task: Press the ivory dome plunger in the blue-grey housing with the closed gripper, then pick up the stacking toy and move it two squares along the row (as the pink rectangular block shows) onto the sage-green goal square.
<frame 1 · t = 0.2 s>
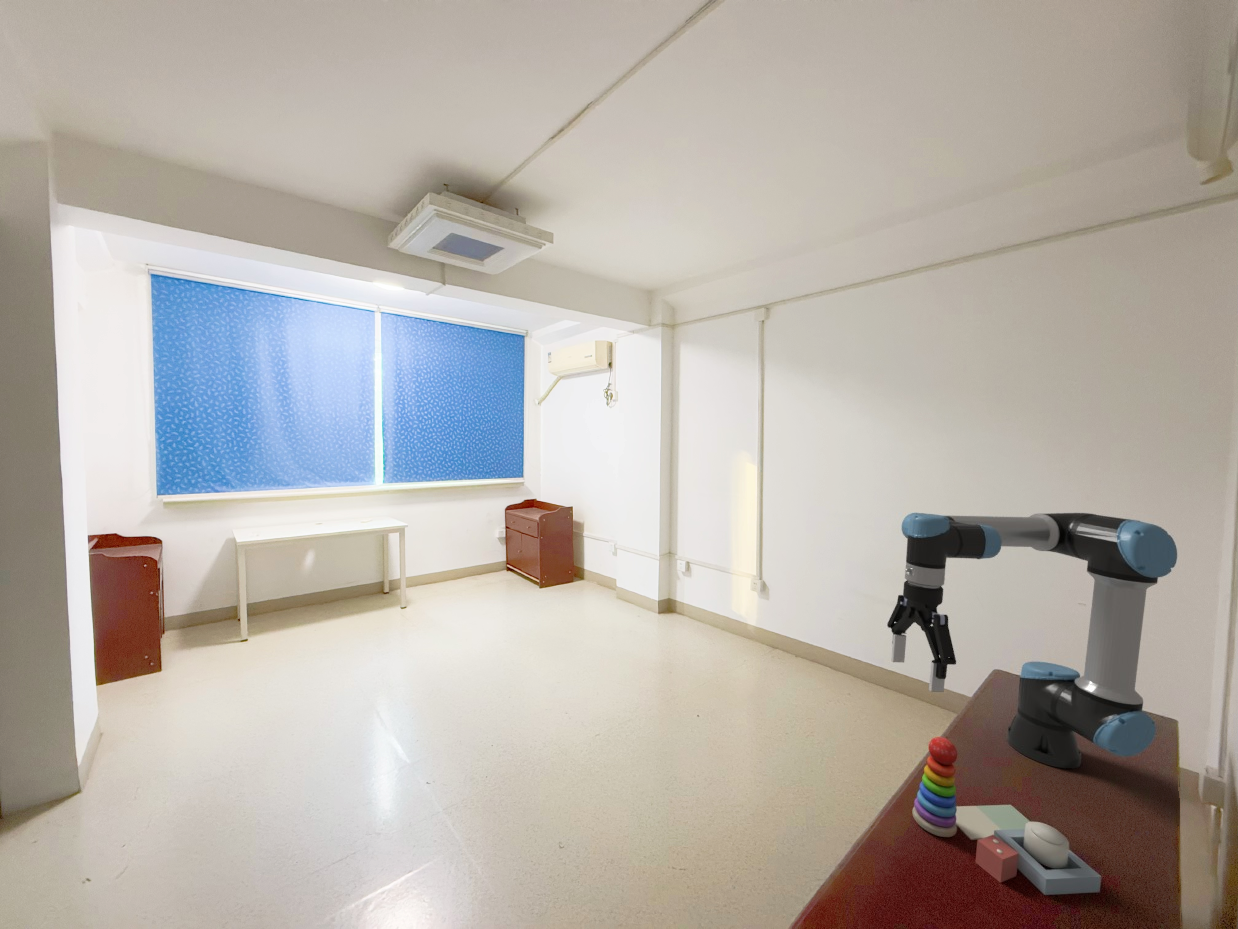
hand: (915, 675, 112), 28 cm above the table, fingers open, 13 cm apart
dome button: (1045, 843, 95), point 5 cm above the table, slide at 0.0 cm
square one: (973, 822, 105), on the table
dome base: (1043, 867, 95), on the table
pink rectangular block: (995, 869, 94), on the table
stacking toy: (933, 825, 105), on the table
goal square: (1009, 821, 106), on the table
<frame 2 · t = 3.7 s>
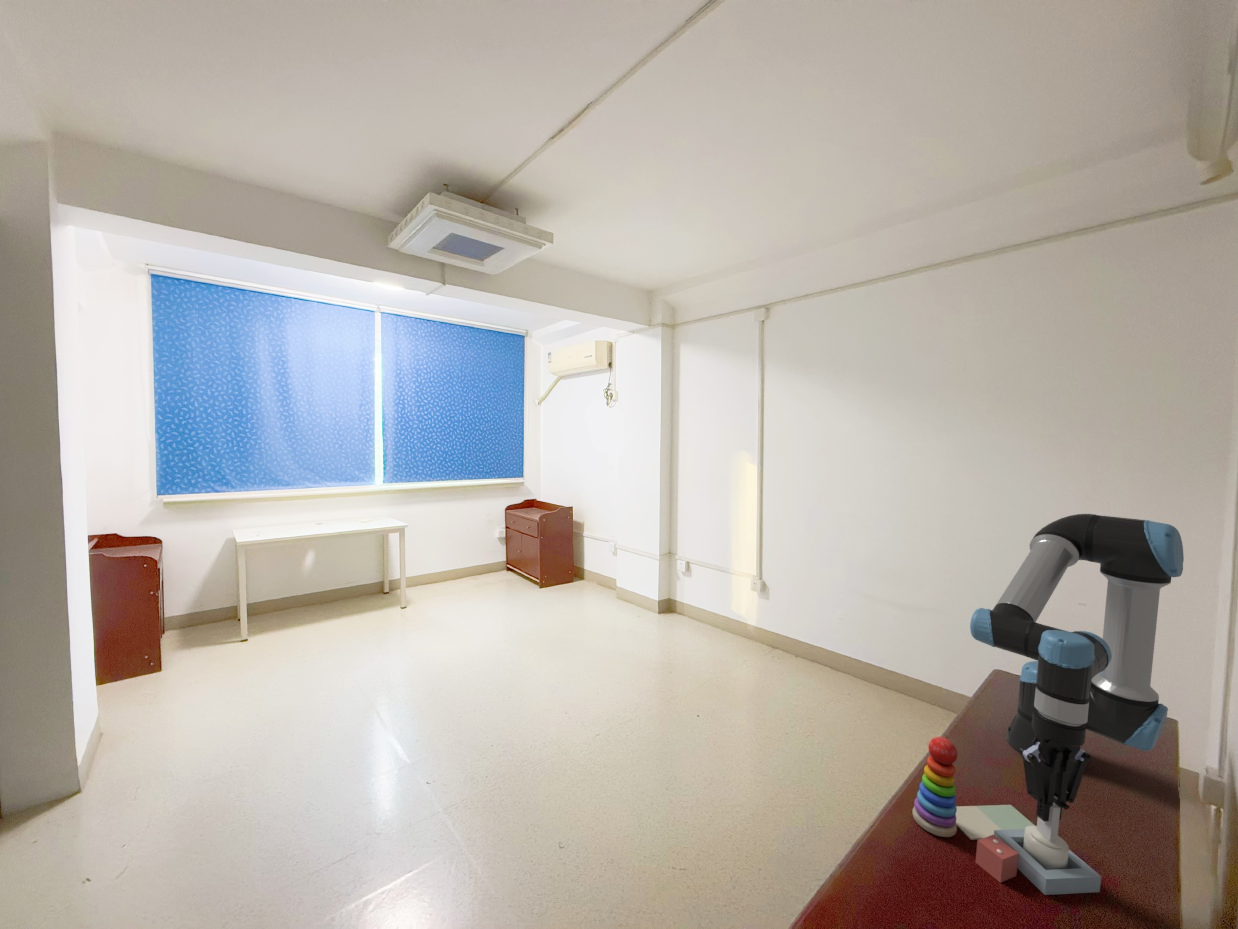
hand: (1046, 835, 95), 7 cm above the table, fingers closed
dome button: (1045, 847, 95), point 4 cm above the table, slide at 0.8 cm, touching gripper
everything else where it was.
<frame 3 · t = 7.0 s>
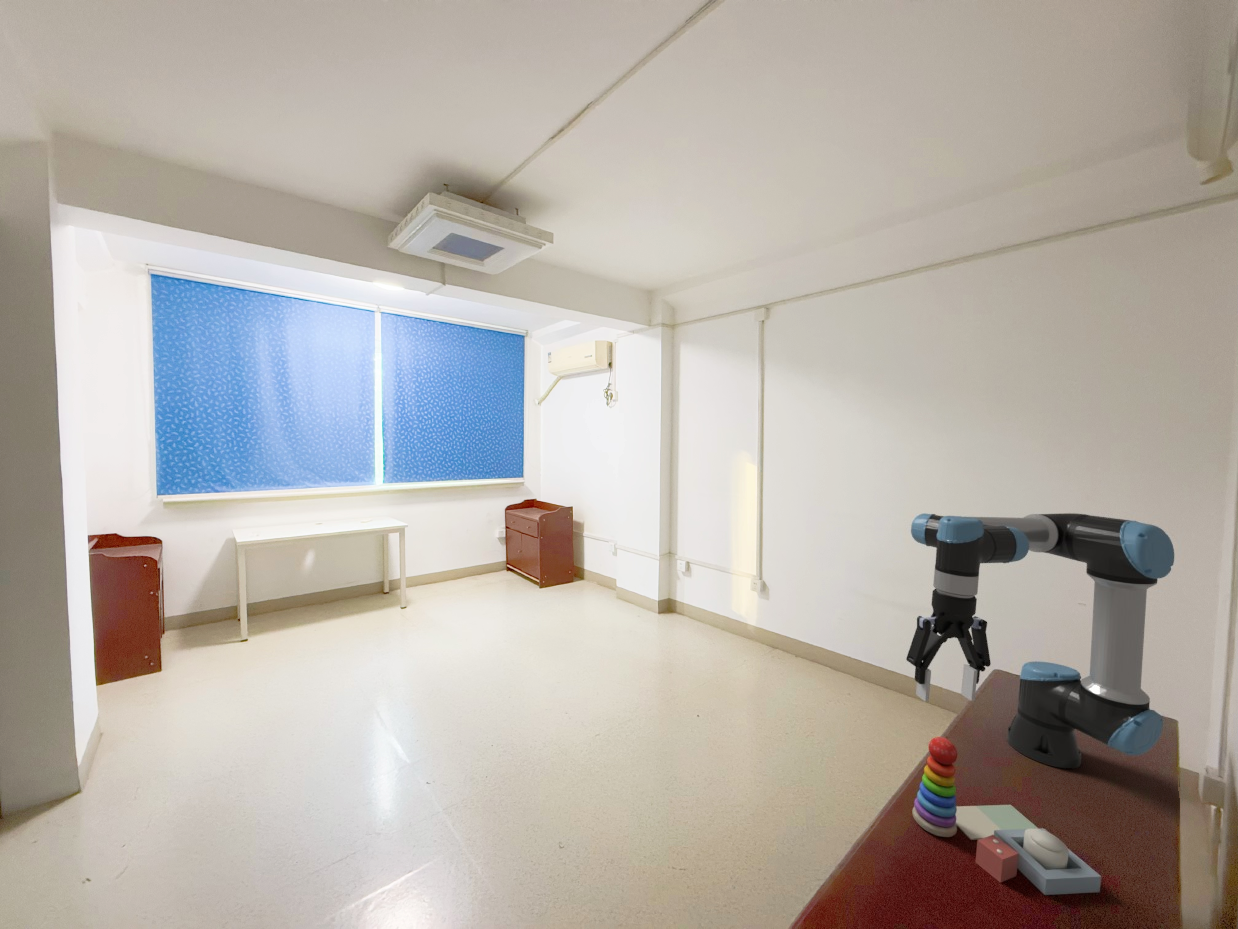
hand: (945, 697, 103), 28 cm above the table, fingers open, 9 cm apart
dome button: (1045, 850, 95), point 3 cm above the table, slide at 1.4 cm
everything else where it was.
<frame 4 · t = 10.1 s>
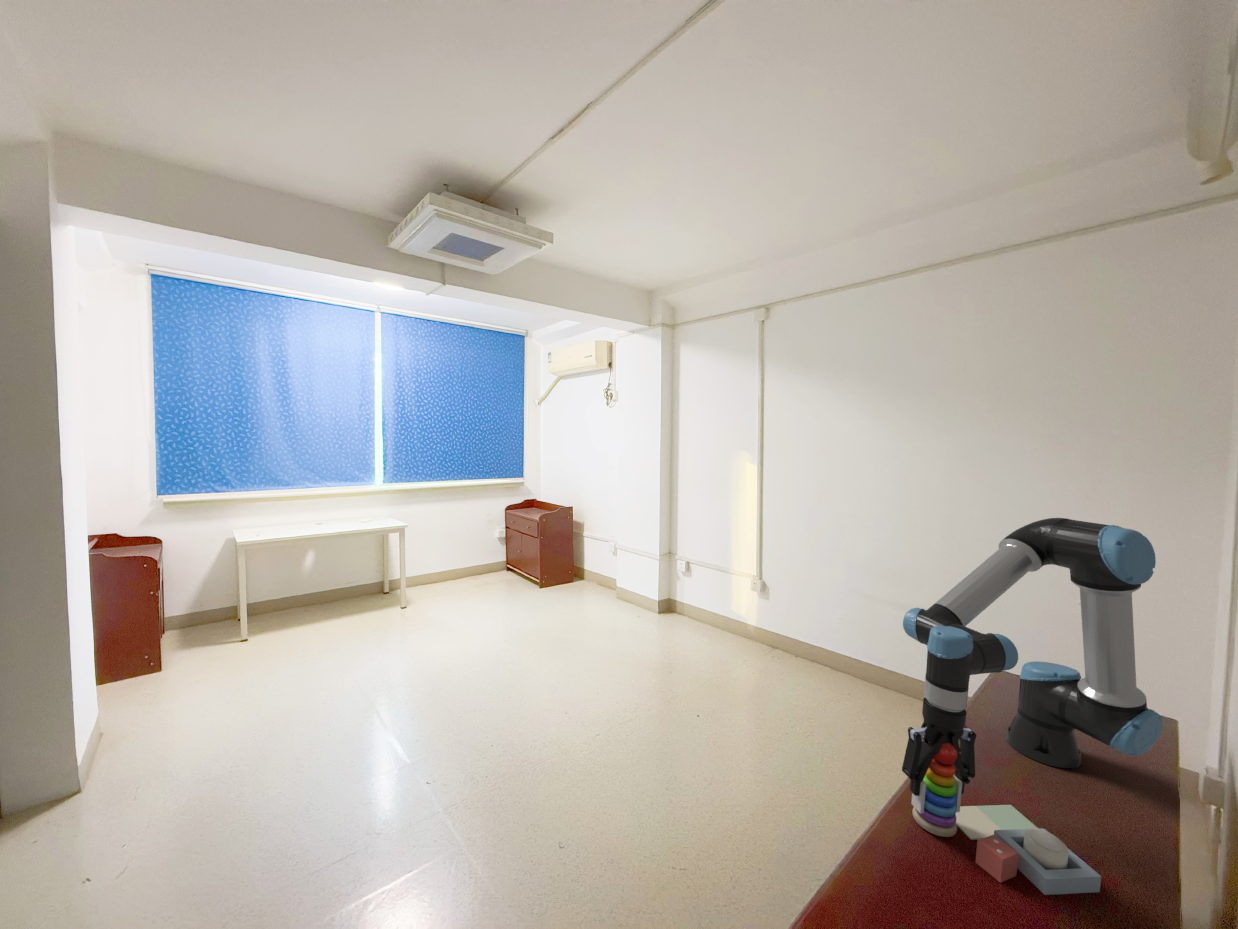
hand: (935, 807, 104), 4 cm above the table, fingers closed on stacking toy, 7 cm apart
stacking toy: (933, 825, 105), on the table, touching gripper
everything else where it was.
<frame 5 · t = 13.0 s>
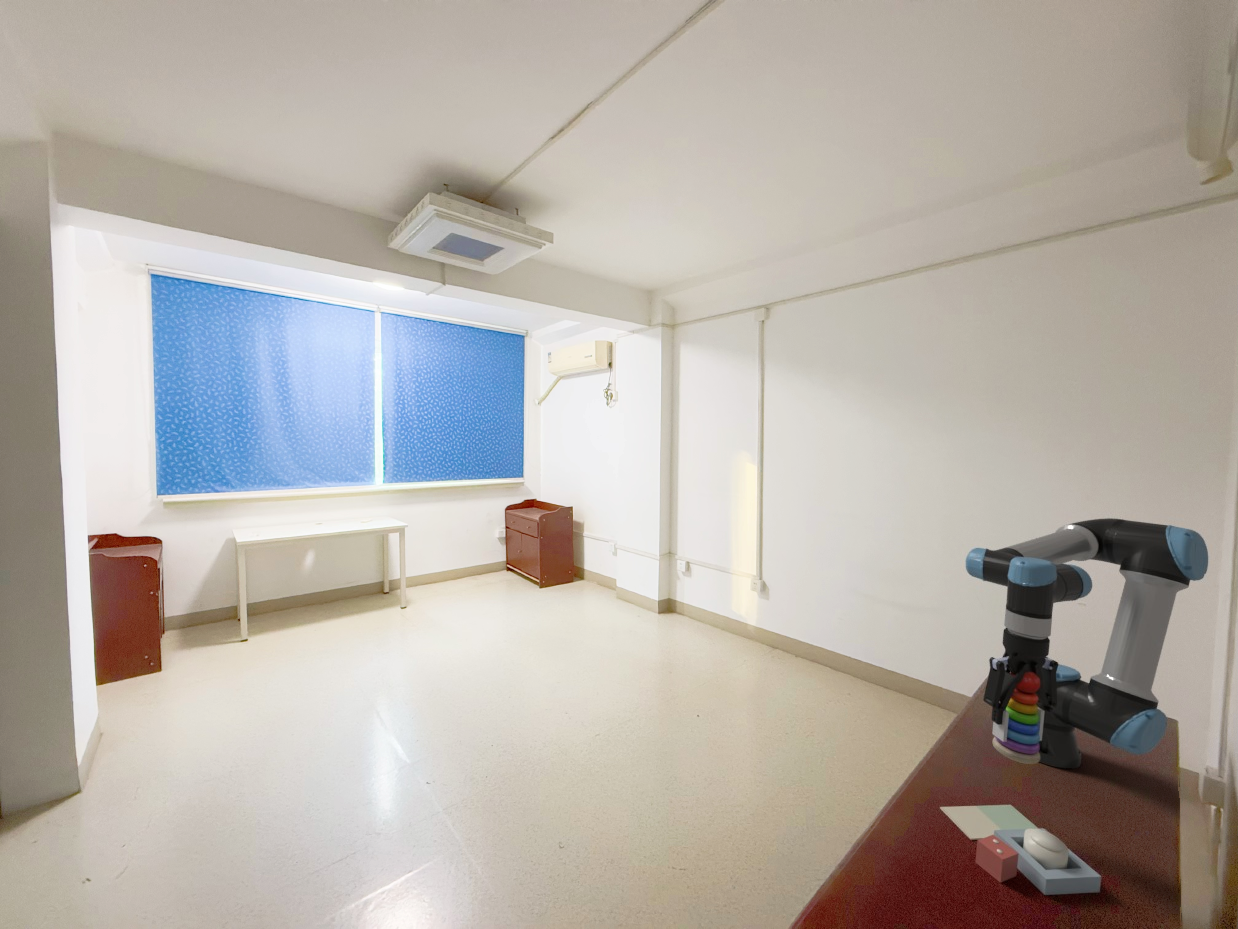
hand: (1016, 737, 105), 19 cm above the table, fingers closed on stacking toy, 7 cm apart
stacking toy: (1015, 754, 105), point 15 cm above the table, touching gripper
everything else where it was.
when the fingers open (5 cm above the table, at t = 16.1 s): stacking toy drops 1 cm, resting on goal square.
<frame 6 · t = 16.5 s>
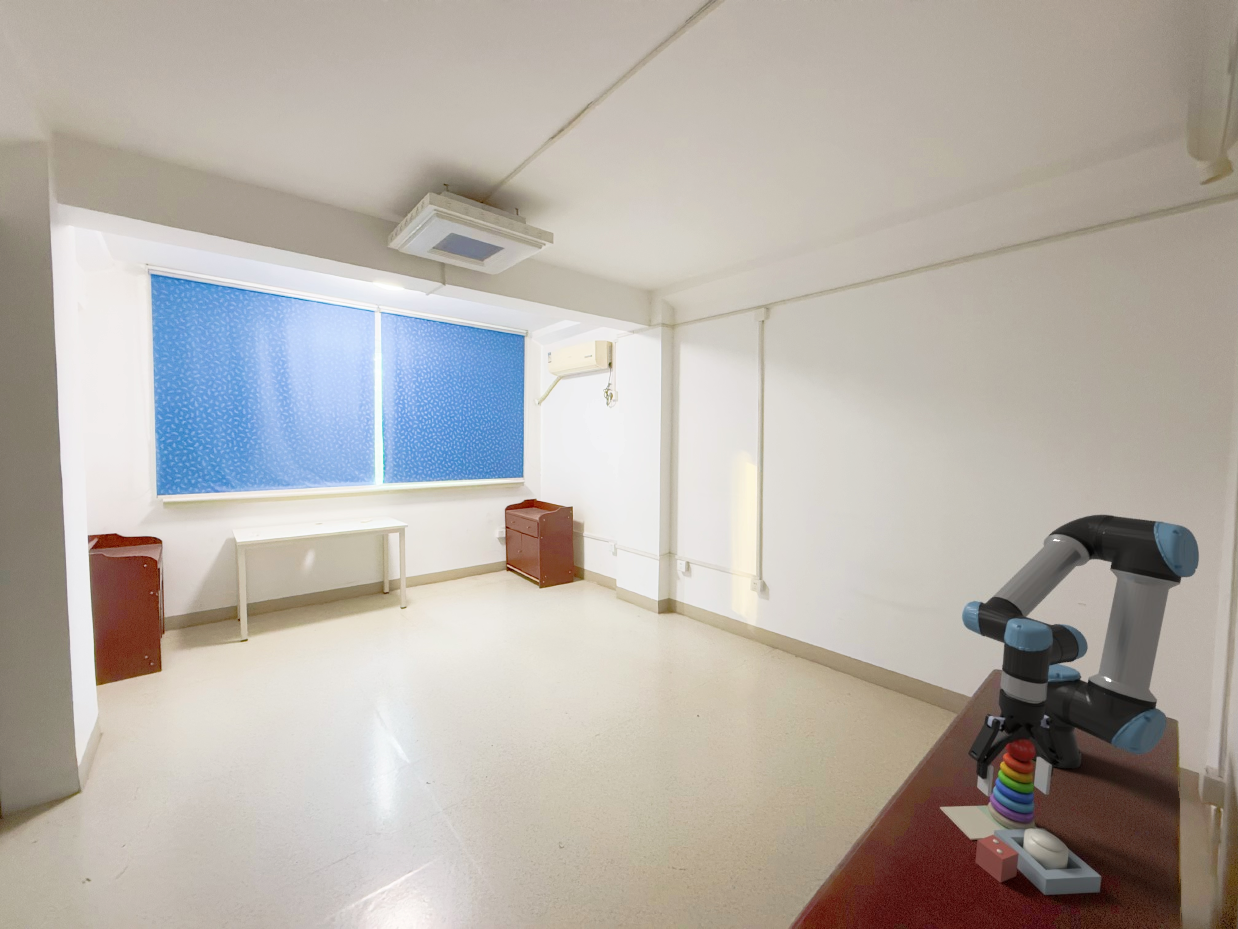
hand: (1012, 791, 106), 7 cm above the table, fingers open, 13 cm apart
stacking toy: (1010, 821, 106), resting on goal square
everything else where it was.
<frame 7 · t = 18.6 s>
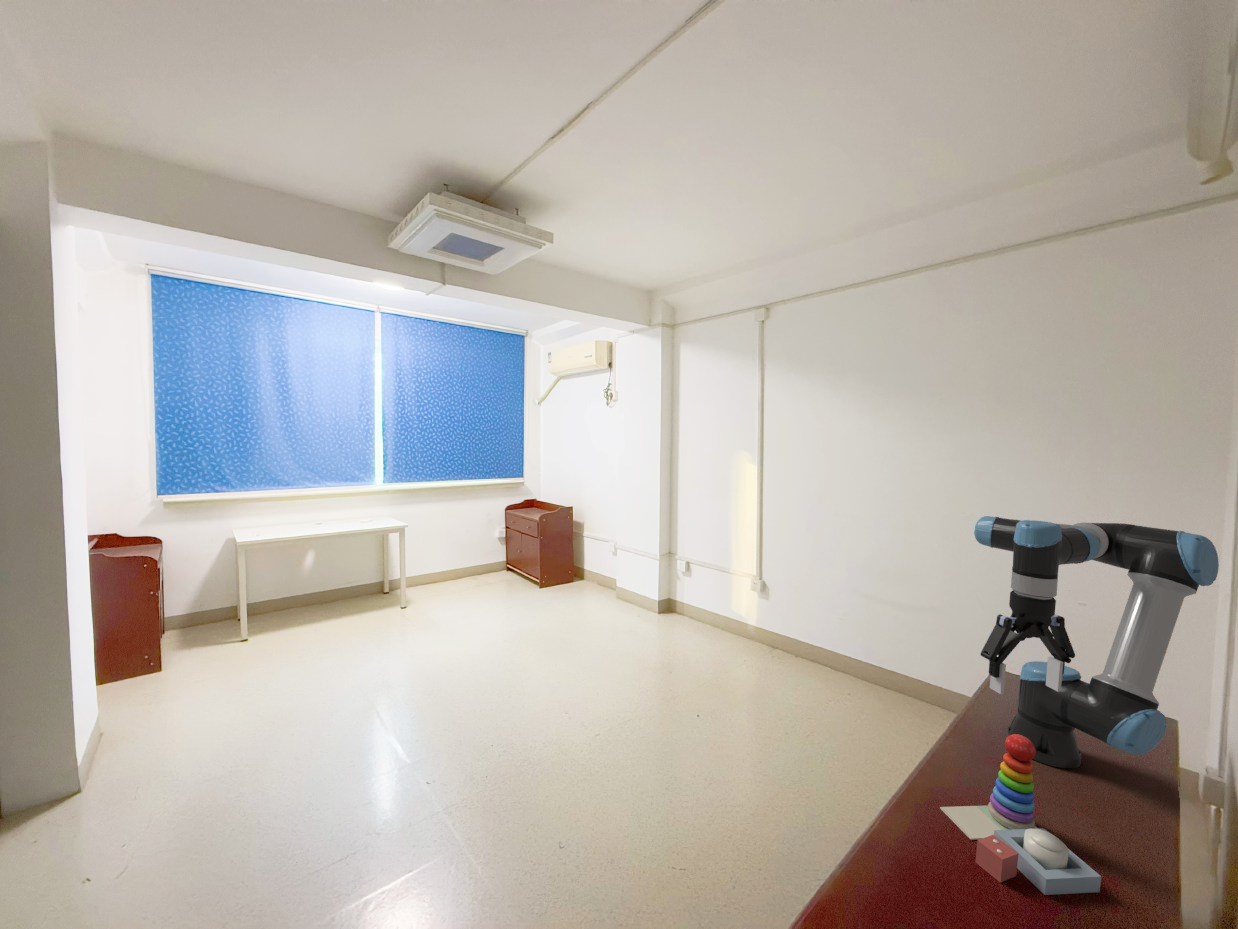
hand: (1025, 689, 107), 28 cm above the table, fingers open, 13 cm apart
nothing on the table moved.
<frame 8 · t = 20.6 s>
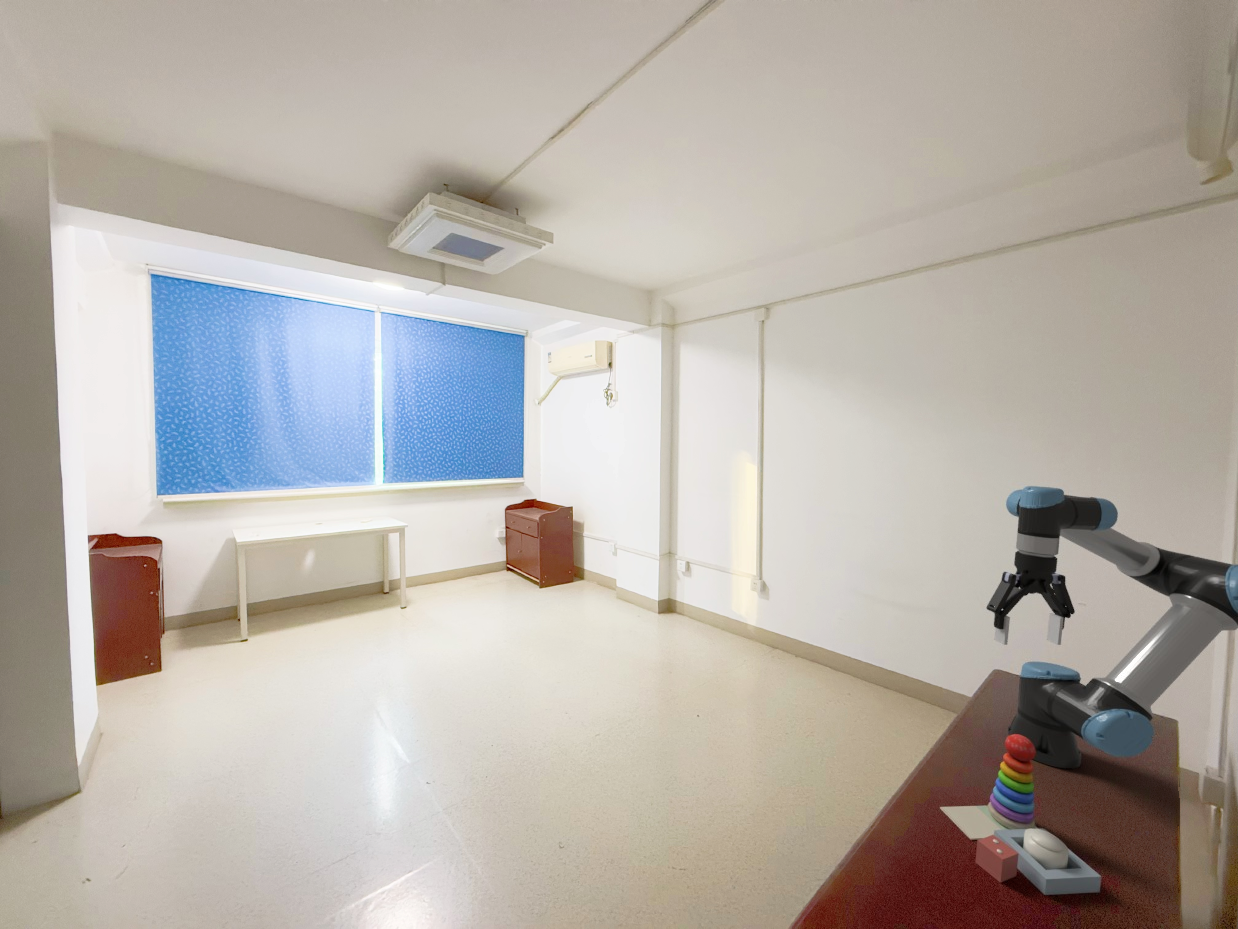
hand: (1027, 642, 116), 35 cm above the table, fingers open, 13 cm apart
nothing on the table moved.
at the end: stacking toy 0.1 cm off-centre on the goal square, point 0.1 cm above the goal square's base; stacking toy tilted 0°; dome button slide at 1.4 cm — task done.
